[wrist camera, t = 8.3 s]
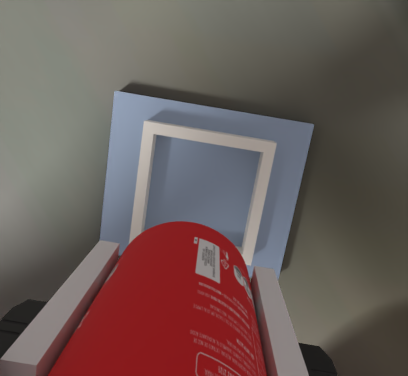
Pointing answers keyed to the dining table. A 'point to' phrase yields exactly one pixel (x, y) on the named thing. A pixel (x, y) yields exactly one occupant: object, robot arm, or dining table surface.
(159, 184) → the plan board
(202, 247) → the beverage can
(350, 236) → the dining table surface
